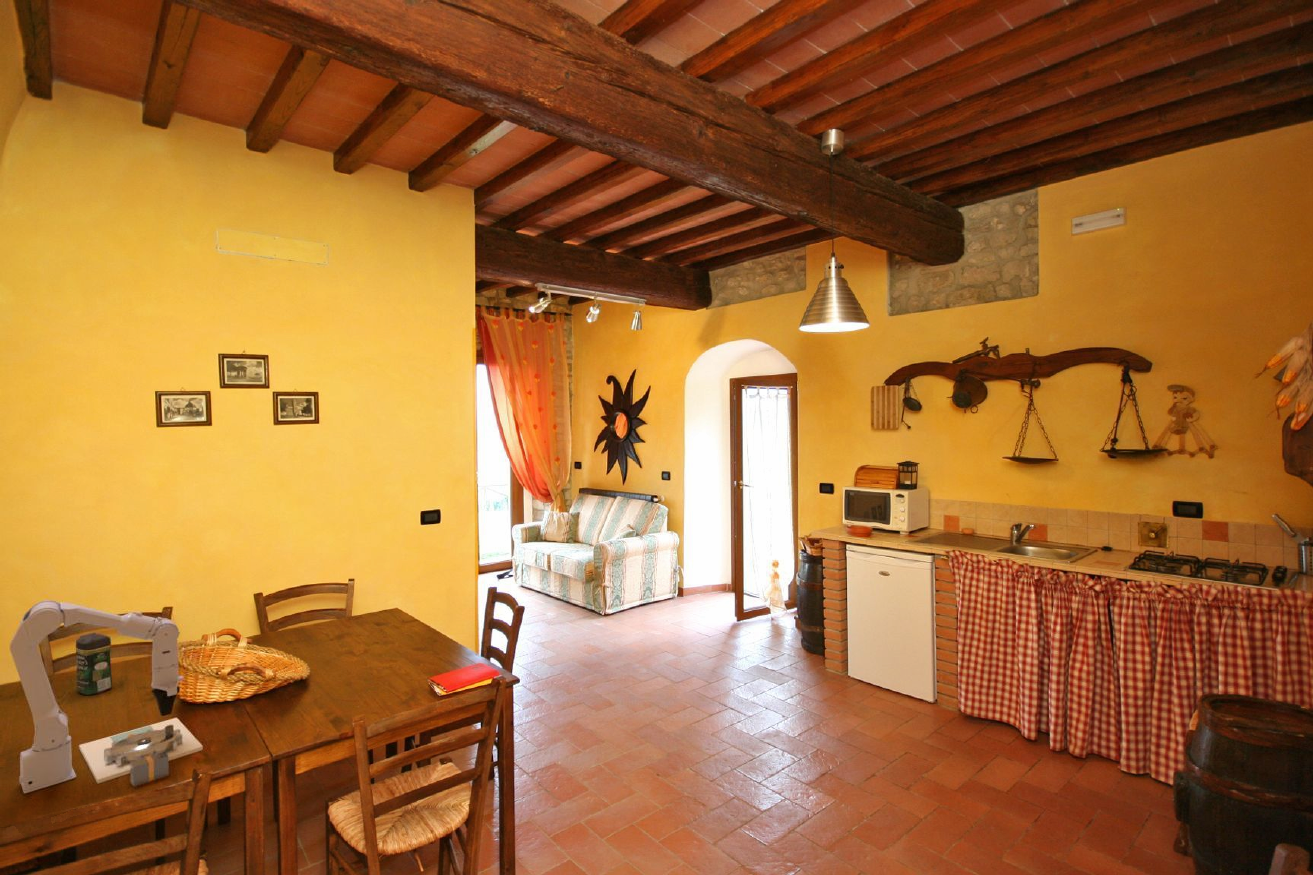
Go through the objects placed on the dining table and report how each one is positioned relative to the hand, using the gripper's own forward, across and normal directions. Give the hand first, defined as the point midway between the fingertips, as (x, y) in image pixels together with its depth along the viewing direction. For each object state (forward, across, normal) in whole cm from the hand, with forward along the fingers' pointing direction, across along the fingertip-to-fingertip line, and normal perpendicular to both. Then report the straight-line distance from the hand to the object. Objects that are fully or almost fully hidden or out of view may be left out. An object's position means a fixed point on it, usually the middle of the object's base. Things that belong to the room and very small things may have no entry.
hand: (166, 714), depth 179 cm
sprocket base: (+9, +4, +5) cm, 11 cm away
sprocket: (+8, 0, +5) cm, 9 cm away
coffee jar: (+10, +64, +6) cm, 65 cm away
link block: (+9, -16, +7) cm, 19 cm away
